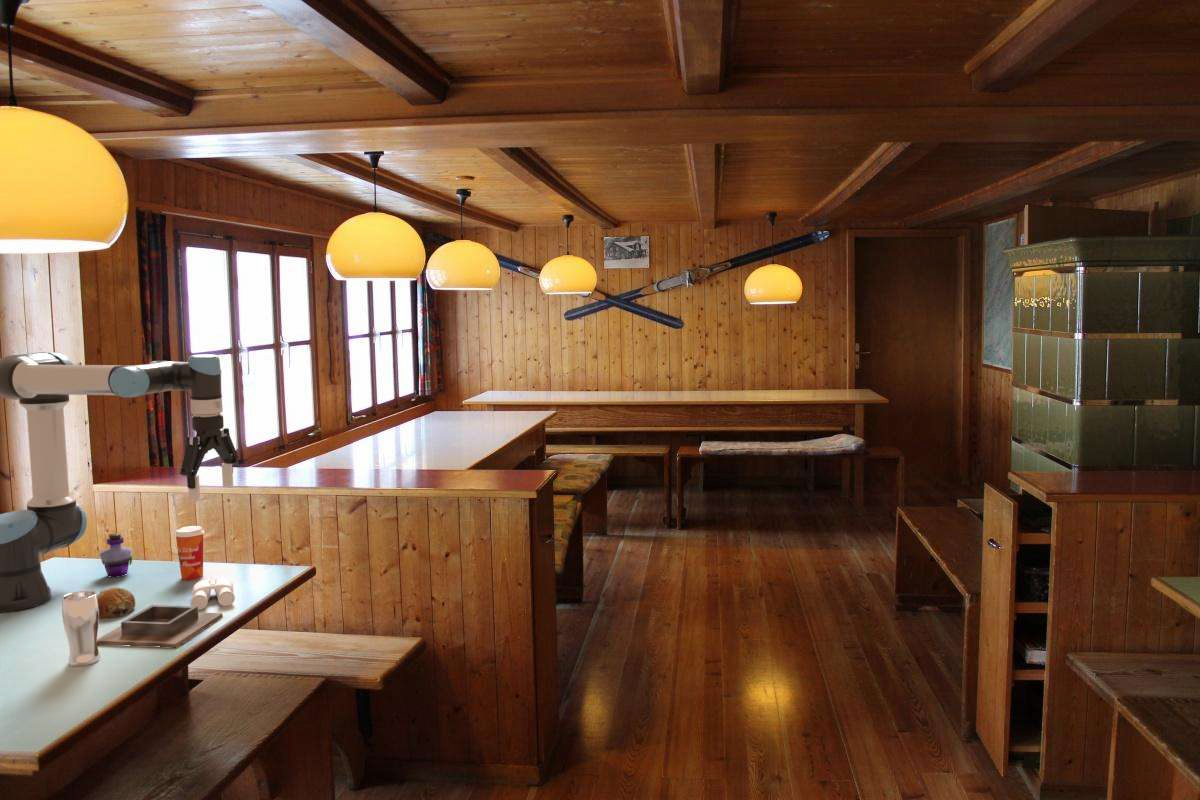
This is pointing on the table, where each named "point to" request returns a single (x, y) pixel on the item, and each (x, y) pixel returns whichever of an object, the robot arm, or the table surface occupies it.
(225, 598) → the binoculars
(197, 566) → the paper cup
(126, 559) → the potion bottle
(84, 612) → the beer glass
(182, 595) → the table surface
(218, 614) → the holder board
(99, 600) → the bread roll
